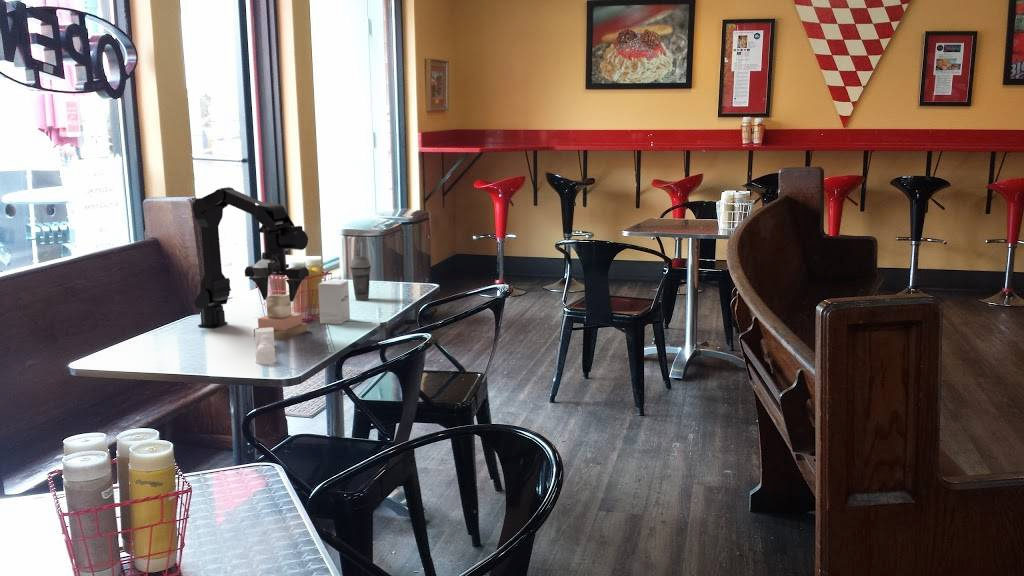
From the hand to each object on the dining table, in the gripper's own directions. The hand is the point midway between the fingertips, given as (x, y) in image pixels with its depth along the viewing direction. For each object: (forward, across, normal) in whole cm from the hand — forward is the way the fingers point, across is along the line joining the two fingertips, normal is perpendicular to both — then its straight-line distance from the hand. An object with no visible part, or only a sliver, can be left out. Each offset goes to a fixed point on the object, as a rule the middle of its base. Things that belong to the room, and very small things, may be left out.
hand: (278, 300), depth 262 cm
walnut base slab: (+11, 0, 0) cm, 11 cm away
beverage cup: (+10, -2, +51) cm, 52 cm away
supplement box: (+10, +7, +19) cm, 23 cm away
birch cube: (+5, 0, 0) cm, 5 cm away
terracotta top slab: (+8, 0, 0) cm, 8 cm away
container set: (+11, +10, -21) cm, 25 cm away
